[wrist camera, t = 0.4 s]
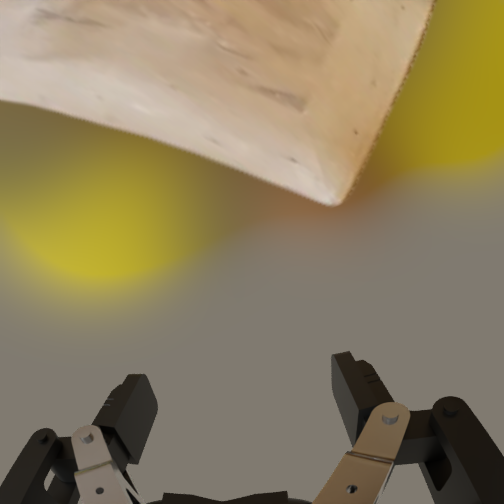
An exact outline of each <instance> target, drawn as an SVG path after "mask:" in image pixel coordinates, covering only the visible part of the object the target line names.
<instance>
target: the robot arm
mask: <svg viewBox="0 0 504 504" xmlns="http://www.w3.org/2000/svg"><path fill="white" fill-rule="evenodd" d="M331 358H332V359H331V364H332V365H331V366H332V390H333V395H334V398H335V400H336V403H337V406H338V408H339V411H340V414H341V416H342V419H343V422H344V425H345V428H346V430H347V433H348V436H349V438H350V441H351V444H352V447H353V449H352V450H351V452H346V453H345V455H344V456H343V458H342V459H341V461H340V463H339V464H338V466H337V467H336V469H335V470H334V472H333V474H332V475H331V477H330V478H329V480H328V481H327V483H326V484H325V486H324V487H323V489H322V490H321V491H320V493H319V494H318V496H317V497H316V499H315V500H314V501H313V503H312V502H309V501H305V500H300V499H292V498H288V494H287V491H282V492H273V493H263V494H254V495H250V496H246V497H242V498H237V499H233V500H228V501H216V500H212V499H208V498H203V497H199V496H195V495H187V494H174V493H164V494H163V499H162V500H159V501H154V502H150V503H147V504H378V502H379V500H380V498H381V496H382V494H383V492H384V490H385V487H386V485H387V483H388V481H389V479H390V476H391V474H392V472H393V469H394V467H395V465H402V464H413V463H418V464H419V467H420V469H421V471H422V473H423V476H424V478H425V481H426V483H427V485H428V488H429V490H430V493H431V495H432V498H433V500H434V503H435V504H504V456H503V455H502V453H501V452H500V450H499V449H498V447H497V446H496V444H495V443H494V442H493V440H492V439H491V437H490V436H489V434H488V433H487V431H486V430H485V429H484V427H483V426H482V424H481V423H480V421H479V420H478V419H477V417H476V416H475V415H474V413H473V412H472V411H471V409H470V408H469V406H468V405H467V404H466V403H465V402H464V401H463V400H462V399H460V398H458V397H453V396H448V397H444V398H441V399H439V400H438V401H436V402H435V404H434V405H433V408H432V409H431V410H421V411H409V410H408V408H407V407H406V406H404V405H403V404H400V403H396V402H394V400H393V398H392V397H391V395H390V394H389V392H388V390H387V389H386V387H385V385H384V384H383V382H382V381H381V380H380V377H379V376H378V374H377V373H376V371H375V369H374V368H373V366H372V365H371V364H369V363H367V362H366V361H364V360H360V361H355V360H354V358H353V356H352V355H351V353H350V351H347V352H343V353H338V354H333V355H332V357H331ZM157 410H158V405H157V400H156V398H155V395H154V393H153V390H152V388H151V385H150V383H149V380H148V378H147V376H146V375H145V374H129V375H128V376H127V377H126V379H125V381H124V382H123V384H122V385H119V386H117V387H116V388H115V389H114V390H113V391H111V393H110V395H109V396H108V399H107V400H106V401H105V403H104V406H102V408H101V409H100V411H99V413H98V415H97V416H96V418H95V419H94V421H93V423H92V425H85V426H82V427H80V428H78V429H77V430H76V431H75V432H74V433H73V434H72V437H58V436H57V435H56V433H55V432H54V431H53V430H52V429H49V428H43V429H40V430H38V431H36V432H35V433H34V434H33V435H32V436H31V438H30V439H29V441H28V443H27V444H26V445H25V447H24V449H23V450H22V452H21V453H20V455H19V456H18V458H17V460H16V461H15V463H14V464H13V466H12V468H11V469H10V471H9V473H8V474H7V476H6V478H5V480H4V481H3V483H2V485H1V486H0V504H77V503H78V501H79V498H80V496H81V499H82V503H83V504H146V503H145V501H144V500H143V498H142V496H141V494H140V493H139V491H138V489H137V487H136V485H135V483H134V481H133V480H132V478H131V476H130V474H129V472H128V470H127V469H126V466H127V464H128V463H130V464H138V463H139V460H140V458H141V455H142V452H143V449H144V447H145V444H146V441H147V438H148V436H149V433H150V430H151V428H152V425H153V422H154V420H155V417H156V414H157ZM50 469H51V470H52V471H53V473H54V474H55V476H54V478H53V480H52V482H51V484H50V486H49V488H48V490H47V491H46V490H45V488H44V480H45V478H46V476H47V474H48V472H49V471H50Z"/></svg>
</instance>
